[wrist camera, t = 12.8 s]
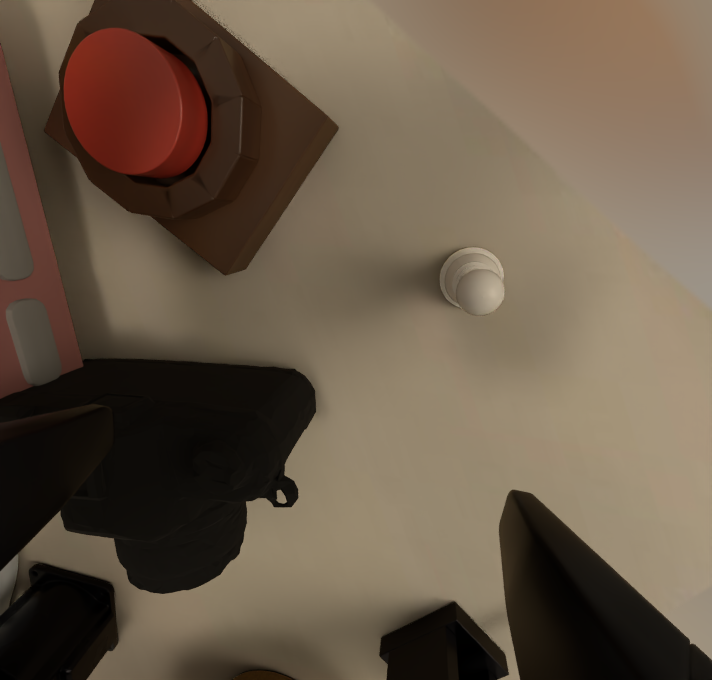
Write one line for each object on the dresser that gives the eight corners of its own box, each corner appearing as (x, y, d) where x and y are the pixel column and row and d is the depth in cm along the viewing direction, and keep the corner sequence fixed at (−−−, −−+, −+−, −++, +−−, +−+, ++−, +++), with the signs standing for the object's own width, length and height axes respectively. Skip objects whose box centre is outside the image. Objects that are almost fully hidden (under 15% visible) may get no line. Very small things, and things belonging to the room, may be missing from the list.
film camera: (98, 491, 25) (-69, 622, 17) (71, 344, 23) (-141, 410, 14) (331, 521, 23) (275, 693, 14) (330, 360, 20) (261, 451, 12)
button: (84, 130, 16) (44, 120, 14) (131, 19, 14) (93, -6, 13) (174, 202, 16) (146, 201, 14) (229, 101, 15) (204, 87, 13)
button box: (83, 139, 20) (2, 122, 16) (155, -29, 17) (78, -97, 13) (245, 270, 20) (204, 283, 17) (339, 127, 18) (316, 104, 14)
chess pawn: (462, 319, 19) (473, 354, 15) (427, 271, 19) (427, 291, 14) (515, 284, 18) (545, 308, 14) (479, 233, 18) (499, 240, 13)
